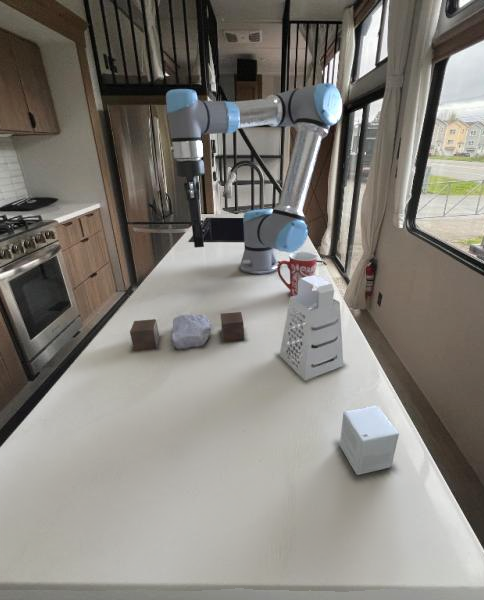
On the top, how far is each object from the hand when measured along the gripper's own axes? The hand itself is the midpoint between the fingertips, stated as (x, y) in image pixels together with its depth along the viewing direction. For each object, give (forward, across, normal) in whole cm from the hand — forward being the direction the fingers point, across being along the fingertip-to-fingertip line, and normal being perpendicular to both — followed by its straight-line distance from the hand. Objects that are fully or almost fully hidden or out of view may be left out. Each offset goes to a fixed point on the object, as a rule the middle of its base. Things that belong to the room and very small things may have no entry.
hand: (199, 246), depth 95 cm
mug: (+20, 0, +30) cm, 36 cm away
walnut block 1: (+18, +21, -15) cm, 32 cm away
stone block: (+19, +20, -4) cm, 27 cm away
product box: (+19, +62, +24) cm, 69 cm away
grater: (+19, +36, +24) cm, 47 cm away
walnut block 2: (+19, +21, +7) cm, 29 cm away
